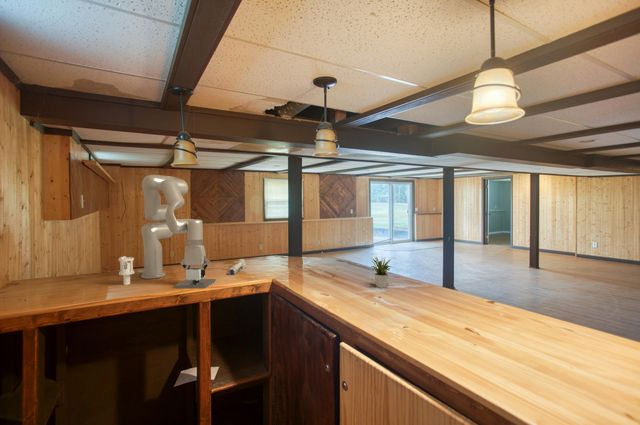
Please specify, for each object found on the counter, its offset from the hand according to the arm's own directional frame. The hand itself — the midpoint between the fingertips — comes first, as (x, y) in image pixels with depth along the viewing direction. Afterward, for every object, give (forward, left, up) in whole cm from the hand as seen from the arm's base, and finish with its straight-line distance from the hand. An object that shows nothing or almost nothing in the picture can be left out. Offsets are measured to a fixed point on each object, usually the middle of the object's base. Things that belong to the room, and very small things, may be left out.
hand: (195, 276), depth 166 cm
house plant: (+95, -2, -4) cm, 95 cm away
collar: (0, 0, -1) cm, 1 cm away
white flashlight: (+11, +36, -5) cm, 38 cm away
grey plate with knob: (0, 0, -4) cm, 4 cm away
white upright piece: (-38, +1, -4) cm, 38 cm away
